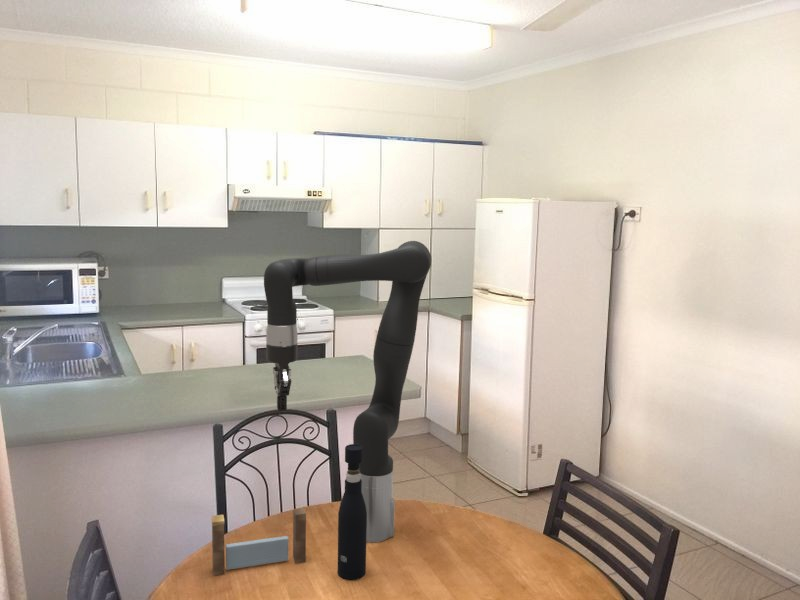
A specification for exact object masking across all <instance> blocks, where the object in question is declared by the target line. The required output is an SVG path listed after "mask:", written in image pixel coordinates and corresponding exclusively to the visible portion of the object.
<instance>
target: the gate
mask: <svg viewBox="0 0 800 600" xmlns="http://www.w3.org/2000/svg"><path fill="white" fill-rule="evenodd" d="M287 561H289V537H288V535H285V536H284V535H283V536H277V537H276V536H275V537H271V538H270V537H268V538H261V539H254V540H247V541H240V542H235V543H227V544H225V570H232V569H233V570H234V569H241V568H247V567H253V566H259V565H260V566H261V565H267V564H271V563H272V564H273V563H280V562H287Z"/></svg>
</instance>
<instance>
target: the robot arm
mask: <svg viewBox="0 0 800 600" xmlns="http://www.w3.org/2000/svg"><path fill="white" fill-rule="evenodd" d="M431 267H432V255H431V252H430V250H429V248H428V247H427V246H426V245H425V244H424V243H422V242H420V241H417V240H409V241H406V242H403V243H402V244H400V245H398V247H397V248H394V249H390V250H386V251H383V252H378V253H370V254H332V255H330V254H329V255H319V256H313V257H309V258H308V257H307V258H303V257H302V258H285V259H279V260H275V261H273V262H270V263H269V264H268V266H267V267H266V268H265V270H264V273H263V274H264V275H263V286H264V287H263V288H264V294H265V299H266V304H267V315H266V316H267V318H266V319H267V321H266V322H267V325H266V331H265V333H266V335H265V337H266V338H265V342H266V348H265V349H266V350H265V353H266V356H265V358H266V361H267V362H268V363H271V364H274V366H273V367H272V374H273V384H274V390H275V394H276V409H277V411H279V412H284V411H287V410H288V409H287V408H288V402H287V401H288V400H287V398H288V396H290V393H291V392H290V391H291V385H292V378H291V376H292V369H291V368H290V366H289V364H290V363H294V362H296V361H297V360H298V327H297V325H298V324H297V317H298V316H297V304H296V302H295V300H294V296H293V295H294V294H293V287H299V286H300V287H301V286H312V287H313V286H315V287H320V286H330V285H331V286H332V285H340V284H341V285H342V284H348V283H357V282H370V281H371V282H374V281H375V282H376V281H380V282H383V281H384V282H391V289H390V293H389V298H388V300H387V303H386V306H385V309H384V311H383V313H382V315H381V316H382V317H381V319H380V323H379V326H378V330H377V334H376V337H375V343H374V348H373V358H372V359H373V361H372V362H373V367H374V368H373V369H374V375H375V382H374V389H373V393H372V397H371V401H370V403H369V406H368V408H366V409H365V410H363V411H362V412H361V413H360V414H358V415H357V416H356V418H355V419H354V422H353V423H354V424H353V427H352V428H353V429H352V432H353V433H352V435H353V436H352V438H353V439H352V444H358V445H361V446H362V447H363V453H362V462H361V463H359V471H360V473H361V478H360V479H361V480H362V495H363V498H364V501H365V505H366V511H367V536H366V543H369V542H370V543H378V542H383V541H387V540H388V539H389V538H391V537H394V536H395V512H396V509H395V507H396V506H395V505H396V501H395V499H394V498H393V487H394V486H393V483H394V481H393V480H394V460H393V457H392V456H390V455H389V440H390V439H391V438H392V437H393V436H394V435H395V434H396V432H397V429H398V427H399V422H400V421H399V420H400V414H401V413H400V412H401V404H402V403H401V402H402V395H403V389H404V385H405V382H406V379H407V375H408V370H409V365H410V362H411V358H412V355H413V353H412V352H413V348H414V344H415V339H416V331H417V327H418V326H417V325H418V318H419V316H418V315H419V305H420V299H421V295H422V292H423V289H424V285H425V282H426V280H427V279H426V278H427V276H428V273H429V272H430V269H431Z"/></svg>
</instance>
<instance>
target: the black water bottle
mask: <svg viewBox="0 0 800 600" xmlns="http://www.w3.org/2000/svg"><path fill="white" fill-rule="evenodd" d="M362 453H363V447H362V446H361V445H358V444H353V443H350V444H347V445H346V446H345V447H344V462H345V463H346V464H347V471H346V473H345V480H344V493H343V495H342V498H341V501H340V505H339V508H338V517H337V519H338V522H337V576H338V577H339V578H341V579H342V580H345V581H357V580H360V579H362V578H363V577H365V575H366V572H367V541H366V536H367V511H366V505H365V501H364V498H363V495H362V480H361V479H360V478H361V473H360V471H359V463H361V462H362Z"/></svg>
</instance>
